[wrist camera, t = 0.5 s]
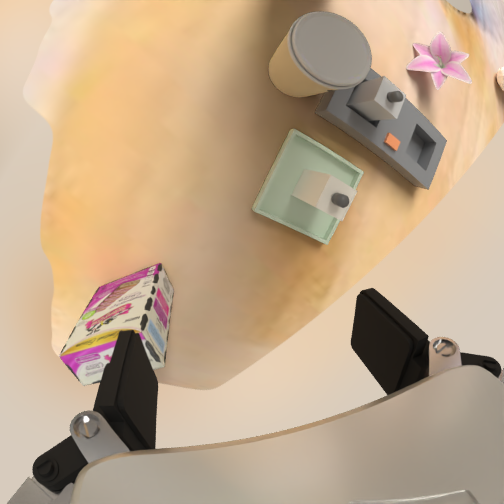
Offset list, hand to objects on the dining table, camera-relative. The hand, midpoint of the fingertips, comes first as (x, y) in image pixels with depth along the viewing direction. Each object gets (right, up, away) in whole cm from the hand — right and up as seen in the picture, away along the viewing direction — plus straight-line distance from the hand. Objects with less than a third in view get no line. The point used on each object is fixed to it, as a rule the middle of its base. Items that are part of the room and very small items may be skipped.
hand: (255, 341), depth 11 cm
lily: (+30, +37, +23) cm, 53 cm away
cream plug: (+8, +12, +26) cm, 30 cm away
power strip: (+20, +23, +25) cm, 40 cm away
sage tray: (+8, +13, +27) cm, 31 cm away
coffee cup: (+6, +28, +21) cm, 35 cm away
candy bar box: (-17, -1, +27) cm, 32 cm away
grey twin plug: (+15, +25, +23) cm, 37 cm away
